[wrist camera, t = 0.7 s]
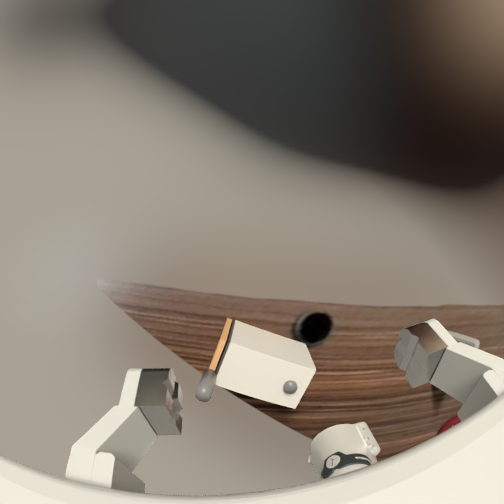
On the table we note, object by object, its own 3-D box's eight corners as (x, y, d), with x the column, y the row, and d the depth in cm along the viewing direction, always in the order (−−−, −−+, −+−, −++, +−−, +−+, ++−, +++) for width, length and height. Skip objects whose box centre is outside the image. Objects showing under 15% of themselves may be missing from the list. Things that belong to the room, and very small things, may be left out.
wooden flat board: (235, 320, 57) (226, 360, 38) (221, 356, 58) (207, 404, 39) (224, 316, 57) (210, 354, 38) (210, 352, 58) (193, 399, 39)
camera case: (305, 344, 57) (317, 371, 45) (287, 382, 58) (293, 415, 45) (233, 319, 57) (227, 343, 44) (218, 359, 58) (209, 389, 45)
